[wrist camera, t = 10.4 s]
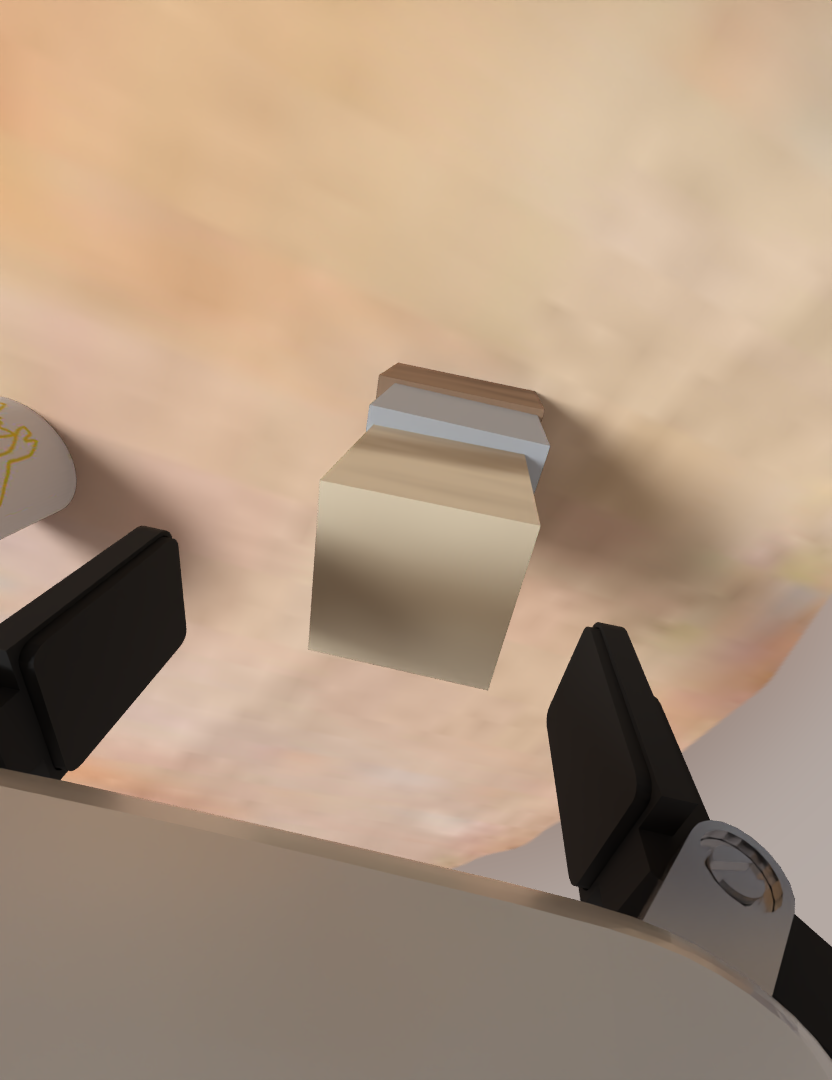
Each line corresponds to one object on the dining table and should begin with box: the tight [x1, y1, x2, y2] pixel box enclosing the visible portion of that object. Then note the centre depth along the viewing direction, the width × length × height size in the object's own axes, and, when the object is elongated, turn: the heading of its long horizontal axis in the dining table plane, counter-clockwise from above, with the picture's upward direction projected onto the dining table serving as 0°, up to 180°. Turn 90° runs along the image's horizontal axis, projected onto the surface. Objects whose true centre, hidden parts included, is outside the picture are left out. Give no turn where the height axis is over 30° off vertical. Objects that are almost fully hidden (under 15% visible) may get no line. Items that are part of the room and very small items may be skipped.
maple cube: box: [308, 424, 540, 690], centre depth 15 cm, size 6×6×6 cm
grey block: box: [366, 383, 550, 494], centre depth 20 cm, size 6×6×5 cm
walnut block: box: [376, 363, 545, 423], centre depth 25 cm, size 8×8×5 cm
